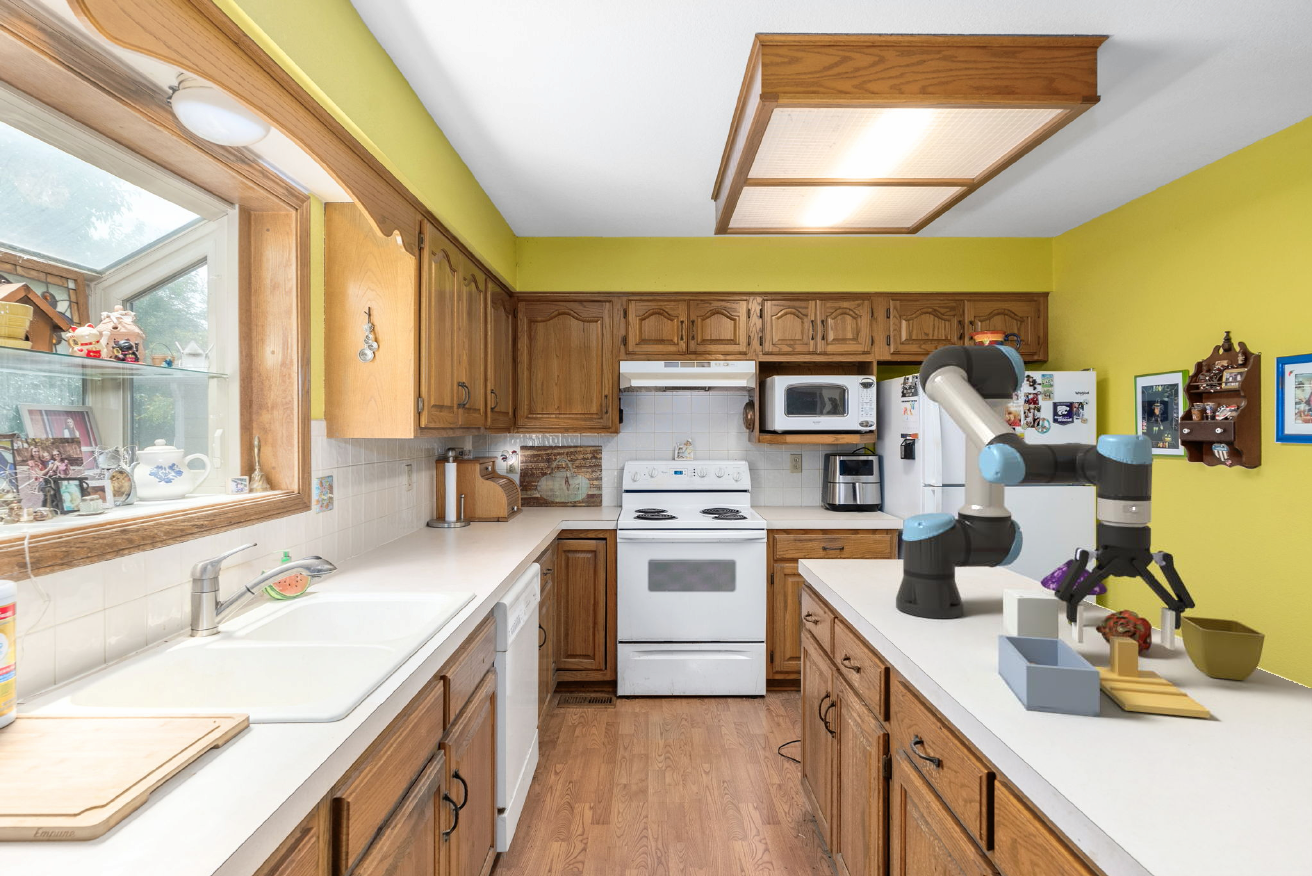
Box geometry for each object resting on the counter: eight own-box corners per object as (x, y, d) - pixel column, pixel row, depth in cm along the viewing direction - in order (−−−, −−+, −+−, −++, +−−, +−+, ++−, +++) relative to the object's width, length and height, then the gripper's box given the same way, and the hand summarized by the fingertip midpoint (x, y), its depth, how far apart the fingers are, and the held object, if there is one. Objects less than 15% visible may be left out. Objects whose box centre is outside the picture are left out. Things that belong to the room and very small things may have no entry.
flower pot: (1236, 668, 112) (1236, 619, 112) (1266, 687, 104) (1266, 634, 103) (1178, 662, 115) (1178, 615, 115) (1202, 680, 106) (1202, 629, 106)
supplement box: (1060, 666, 113) (1059, 599, 113) (1016, 664, 115) (1016, 597, 115) (1043, 652, 120) (1043, 589, 120) (1002, 650, 122) (1002, 587, 122)
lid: (1081, 674, 110) (1081, 632, 110) (1153, 680, 107) (1153, 637, 107) (1125, 713, 95) (1125, 665, 95) (1209, 721, 92) (1209, 671, 92)
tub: (998, 673, 110) (998, 634, 110) (1061, 678, 108) (1061, 638, 108) (1026, 709, 96) (1026, 665, 96) (1099, 716, 93) (1099, 671, 93)
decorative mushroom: (1039, 628, 135) (1039, 561, 135) (1041, 614, 145) (1041, 551, 145) (1109, 638, 128) (1109, 567, 128) (1106, 622, 139) (1105, 557, 138)
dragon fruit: (1130, 668, 116) (1114, 656, 127) (1174, 646, 114) (1154, 636, 125) (1096, 627, 119) (1084, 619, 130) (1139, 605, 117) (1123, 599, 128)
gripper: (1050, 524, 106) (1049, 645, 106) (1223, 529, 99) (1221, 658, 100) (1035, 517, 113) (1034, 630, 114) (1195, 521, 107) (1193, 641, 107)
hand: (1121, 643), depth 107 cm, fingers open, 13 cm apart
